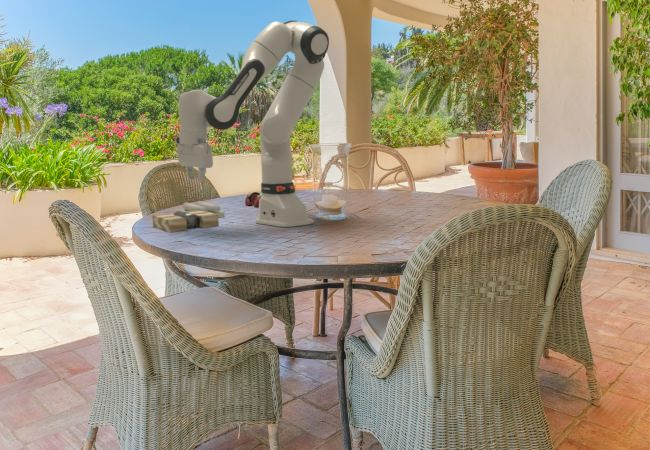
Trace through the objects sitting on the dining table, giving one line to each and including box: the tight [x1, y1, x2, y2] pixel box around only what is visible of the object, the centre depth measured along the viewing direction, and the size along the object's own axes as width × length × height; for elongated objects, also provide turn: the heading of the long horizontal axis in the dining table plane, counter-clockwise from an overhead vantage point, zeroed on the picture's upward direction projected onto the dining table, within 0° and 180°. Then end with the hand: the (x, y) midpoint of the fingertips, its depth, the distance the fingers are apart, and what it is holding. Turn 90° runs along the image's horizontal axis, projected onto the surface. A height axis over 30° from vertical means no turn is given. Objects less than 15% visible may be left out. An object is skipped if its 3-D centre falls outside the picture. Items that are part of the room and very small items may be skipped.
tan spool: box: [151, 210, 220, 233], centre depth 203 cm, size 16×18×4 cm
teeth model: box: [244, 191, 262, 209], centre depth 251 cm, size 8×6×12 cm
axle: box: [173, 210, 200, 229], centre depth 203 cm, size 12×5×5 cm, turn 37°
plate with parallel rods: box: [179, 200, 225, 219], centre depth 224 cm, size 16×12×5 cm
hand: (196, 180), depth 191 cm, fingers open, 7 cm apart
